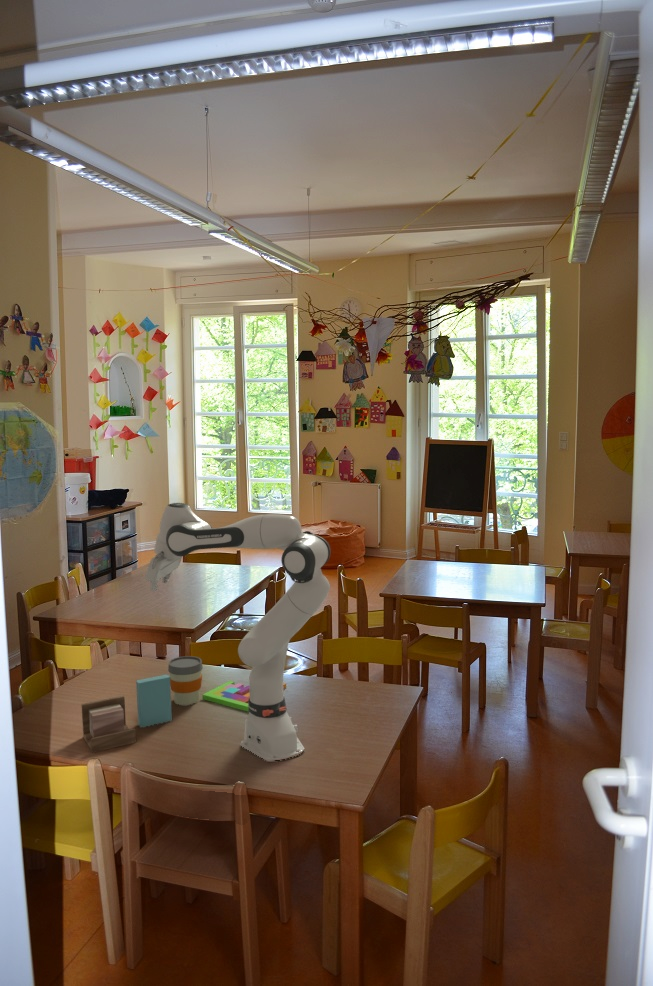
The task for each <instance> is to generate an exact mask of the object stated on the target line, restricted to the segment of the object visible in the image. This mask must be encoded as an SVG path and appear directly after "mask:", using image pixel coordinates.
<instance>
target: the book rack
mask: <svg viewBox="0 0 653 986" xmlns="http://www.w3.org/2000/svg"><path fill="white" fill-rule="evenodd" d="M125 704H126V702H125V695H120V696H114V697H110V698H105V699H100V700H95V701H90V702H85V703H81V717H82V719H81V721H82V734H83V735H82V737H83V739H84V741H85V743H86V744H87V746H88V747H89V750H90V751H91V753H93V754H94V753H98V752H102V751H105V750H110V749H114V748H118V747H123V746H127V745H132V744H135V743H137V741H136V728H132V729H131V728H129V727H128V726H127V722H126V705H125Z"/></svg>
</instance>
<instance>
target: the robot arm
mask: <svg viewBox="0 0 653 986" xmlns="http://www.w3.org/2000/svg"><path fill="white" fill-rule="evenodd" d="M221 548H222V549H225V548H229V549H230V548H233V549H251V550H275V549H277V550H281V551H283V553H282V556H281V565H282V568H283V569H284V571H285V573H286V574H287V575H288V576H289V577H290V579H291V581H293V584H292V585H291V586H290V587H289V588H288V590H286V592H285V593H284V594H283V595H282V596H281V597H280V599H279V600H278V601H277V602H276V603H275V604H274V606H272V608H270V609H269V610H268V611H267V613H265V615H264V616H262V618H261V619H260V620H259V621H258V622H257V623H256V624H254V626H253V627H252V628H251V629H250V630H249V631H248V632H247V633H246V634H245V636H243V638H242V639H241V641H240V642H239V644H238V648H237V654H238V656H239V659H240V661H241V662H242V663H243V664H244V665H245V666H248V667H251V671H250V673H249V677H248V681H249V682H248V683H249V685H248V686H249V690H250V698H249V701H248V708H249V712H248V715H247V716H246V718H245V721H244V733H243V734H244V735H243V736H244V737H243V738H244V739H243V740H241V742H240V747H241V746H242V748H243V747H244V748H243V749H244V750H246V749H247V751H248V750H249V751H248V752H250V751H251V752H252V753H251V752H250V753H251V754H253V753H254V754H253V755H255V754H256V755H257V756H256V755H255V756H256V757H258V756H259V757H258V758H260V757H261V758H263V759H265V760H276V759H281V758H286V757H289V756H292V755H295V754H298V753H300V752H302V751H303V750H304V749H305V747H304V745H303V744H302V742H301V741H300V739H299V738H298V736H297V732H298V731H299V728H298V724H293V722H292V720H293V719H292V718H293V717H292V716H289V713H288V712H287V702H286V698H285V696H284V689H283V683H284V673H285V666H286V660H287V653H288V649H289V648H288V646H289V643H290V640H291V639H292V638H293V637H294V636H295V635H296V634H297V633H299V631H300V630H301V629H302V628H303V627H304V625H306V623H307V622H308V621H309V619H311V618H312V616H314V614H315V613H316V612H317V611H318V610H319V608H321V606H322V604H323V603H324V602H325V600H326V598H327V597H328V595H329V593H330V591H331V585H330V582H329V579H328V578H327V577H326V576H325V574H323V572H322V567H324V566H325V565H326V564H327V563H328V561H329V560H330V557H331V554H332V553H331V551H332V549H331V545H330V544H329V542H328V541H327V540H326V539H325V538H323V537H321V536H319V535H317V534H315V533H313V532H311V531H309V530H306V531H302V524H301V522H300V520H299V519H298V518H297V517H295V516H293V515H288V514H280V513H279V514H278V513H277V514H276V513H269V514H268V513H267V514H258V515H253V516H249V517H246V518H243V519H241V520H238V521H235V522H233V523H231V524H228V525H224V526H222V527H215V528H212V526H211V525H210V523H208V522H207V521H206V520H203V519H202V518H200V517H199V516H198V515H196V514H195V512H194V511H193V510H192V509H191V506H190V505H189V504H187V503H182V502H172V503H169V504H167V505H166V506H165V507H164V510H163V513H162V515H161V519H160V523H159V533H158V534H157V537H156V540H155V545H154V549H153V553H155V556H154V557H152V558H150V559H151V560H150V561H149V563H148V567H147V570H146V573H145V580H146V581H148V582H149V583H150V589H149V590H150V591H152V592H155V591H157V590H158V582H159V581H160V580H161V579H162V580H161V583H164V584H168V583H169V581H170V578H171V575H172V574H173V572H174V571H175V570H176V569H178V568H179V566H180V565H181V562H182V559H183V557H185V556H187V555H189V554H190V553H194V552H196V551H198V550H209V549H210V550H211V549H221ZM296 751H299V752H296ZM261 758H260V759H261ZM263 759H262V760H263ZM265 760H264V761H265Z"/></svg>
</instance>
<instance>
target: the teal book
mask: <svg viewBox="0 0 653 986" xmlns="http://www.w3.org/2000/svg"><path fill="white" fill-rule="evenodd" d="M135 682H136V685H135V686H136V704H137V705H136V706H137V725H138V726H140V727H143V728H146V726H148V727H150V726H149V725H152V726H155V725H154V724H157V725H159V724H158V723H161V724H164V723H163V722H165V723H168V722H167V721H170V722H173V719H172V694H171V693H172V690H171V686H170V675H168V674H162V675H157V676H152V677H147V678H142V679H136V681H135ZM140 727H139V728H140Z"/></svg>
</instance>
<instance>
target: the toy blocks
mask: <svg viewBox="0 0 653 986" xmlns="http://www.w3.org/2000/svg"><path fill="white" fill-rule="evenodd" d="M285 689H287V683H285V682H283V690H285ZM249 698H250V690H249V685H246V686H245V685H244V683H240V682H239V683H236V684H235V681H231V680H229V681H227V682H225V683H222V684H221V685H219V686H217V687H215V688H213V689H210V690H209V691H207V692H205V693H203V694H202V700H203V701H209V702H212V703H215V704H219V705H223V706H227V707H229V708H234V709H238V710H241V711H244V712H245V711H246V712H248V713H249V708H248V701H249Z"/></svg>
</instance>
